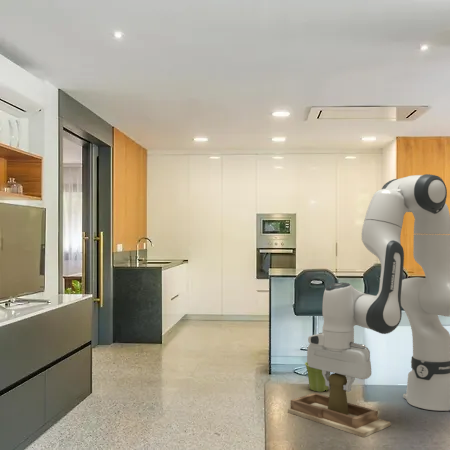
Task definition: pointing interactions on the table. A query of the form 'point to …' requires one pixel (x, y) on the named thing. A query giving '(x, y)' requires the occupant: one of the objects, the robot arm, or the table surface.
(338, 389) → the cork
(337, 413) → the wooden tray
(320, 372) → the plant pot
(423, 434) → the table surface
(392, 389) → the table surface
